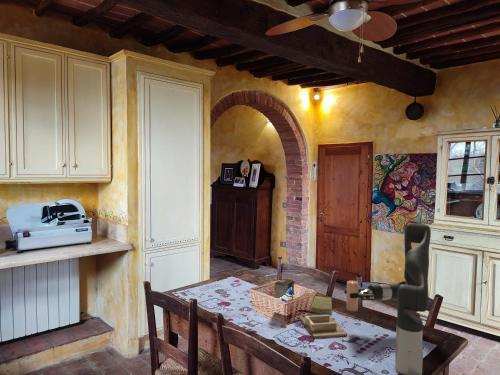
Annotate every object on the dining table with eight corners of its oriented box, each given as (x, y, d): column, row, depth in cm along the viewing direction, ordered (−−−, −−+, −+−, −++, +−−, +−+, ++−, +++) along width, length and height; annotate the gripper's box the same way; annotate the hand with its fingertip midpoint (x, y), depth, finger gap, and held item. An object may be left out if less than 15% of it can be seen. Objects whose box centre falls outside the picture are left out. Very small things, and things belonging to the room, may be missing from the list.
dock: (347, 335, 170) (347, 327, 170) (313, 338, 167) (314, 329, 167) (330, 317, 190) (330, 310, 189) (300, 319, 187) (300, 311, 187)
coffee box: (284, 306, 203) (284, 278, 202) (293, 309, 199) (294, 280, 198) (274, 311, 196) (275, 282, 195) (284, 315, 192) (285, 284, 191)
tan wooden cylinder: (359, 310, 176) (360, 283, 175) (349, 311, 175) (350, 284, 174) (354, 306, 181) (355, 280, 181) (344, 307, 180) (345, 280, 180)
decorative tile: (296, 299, 216) (296, 293, 216) (331, 302, 212) (331, 296, 212) (293, 311, 198) (294, 305, 198) (332, 315, 194) (332, 308, 194)
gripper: (372, 280, 187) (341, 281, 184) (388, 289, 173) (354, 291, 170) (372, 294, 188) (340, 296, 185) (387, 305, 173) (353, 307, 170)
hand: (347, 293), depth 177 cm, fingers closed on tan wooden cylinder, 5 cm apart
